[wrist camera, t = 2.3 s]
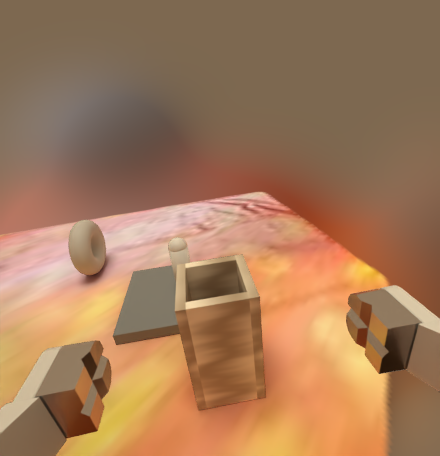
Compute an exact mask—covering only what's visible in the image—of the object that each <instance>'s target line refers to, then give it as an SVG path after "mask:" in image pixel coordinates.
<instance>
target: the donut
mask: <svg viewBox="0 0 440 456" xmlns="http://www.w3.org/2000/svg"><path fill="white" fill-rule="evenodd" d="M69 253H70V257H71V260H72V262H73V264H74V266H75V268H76V269H77V270H78V271H79V272H80V273H82V274H85V275H93V274H96V273H98V272H99V271H100V270H101V269H102V267H103V265H104V262H105V257H106V246H105V240H104V236H103V234H102V231H101V230H100V228H99V226H98V225H97V224H95V223H94V222H93V221H90V220H82V221H79V222H77V223H76V224H75V225H74V226H73V228H72V229H71V231H70V235H69Z"/></svg>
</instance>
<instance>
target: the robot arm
mask: <svg viewBox="0 0 440 456" xmlns="http://www.w3.org/2000/svg"><path fill="white" fill-rule="evenodd" d="M348 305H349V306H350V307H351V309H350V311H349V312H348V313H347V317H346V323H347V327H348V331H349V333H350V335H351V337H352V338H353V340H354V341H355V342H356V343H357V344H358V345H360V346H362V347H364V348H365V356H366V357H367V359H368V360H369V361H370V363H371V364H372V365H373V367H374V368H375V369H376V371H377V372H378V373H379V374H381V373H387V372H392V371H399V370H405V369H407V371H408V372H409V373H411V374H412V375H414V376H415V377H417V378H418V379H420V380H421V381H423V382H424V383H426V384H428V385H429V386H431V387H432V388H434V389H435V390H437V391H438V392H440V319H439V318H438V317H437V316H435V315H434V314H433V313H432V312H430V311H429V310H428V309H427V308H425V307H424V306H423V305H422V304H420V303H419V302H418V301H417V300H415V299H414V298H413V297H412V296H410V295H409V294H408V293H407V292H406V291H404V290H403V289H402V288H401V287H398V286H395V285H394V286H389V287H384V288H380V289H374V290H369V291H364V292H359V293H353V294H350V296H349V298H348ZM102 352H103V347H102V344H101V342H100V341H90V342H84V343H77V344H71V345H65V346H61V347H54V348H48V349H46V350H45V351H44V352H42V354H41V356H40V357H39V359H38V361H37V362H36V364H35V366H34V367H33V369H32V371H31V372H30V374H29V376H28V377H27V379H26V381H25V382H24V384H23V386H22V387H21V389H20V391H19V392H18V394H17V396H16V397H15V399H14V401H13V402H11V403H7V404H5V405H4V406H3V407H2V408H1V409H0V456H55V455H56V454H57V453H58V451H59V450H60V449H61V447H62V446H63V444H64V443H65V442H66V438H70V437H74V436H79V435H83V434H87V433H91V432H96V431H98V428H99V424H100V420H101V417H102V413H103V410H104V405H103V403H102V398H103V397H104V396H105V395H106V394H107V393H108V391H109V388H110V384H111V366H110V363H109V360H108V359H107V358H106V357H104V356H102Z"/></svg>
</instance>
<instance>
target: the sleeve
mask: <svg viewBox="0 0 440 456" xmlns="http://www.w3.org/2000/svg"><path fill="white" fill-rule="evenodd" d="M175 314H176V319H177V323H178V327H179V331H180V335H181V340H182V344H183V348H184V352H185V356H186V361H187V365H188V369H189V373H190V377H191V381H192V386H193V390H194V394H195V398H196V402H197V407H198V410H203V409H208V408H213V407H218V406H224V405H229V404H234V403H239V402H244V401H249V400H254V399H259V398H264V397H266V394H265V378H264V361H263V344H262V327H261V310H260V296H259V294H258V291H257V289H256V286H255V284H254V281H253V279H252V276H251V274H250V271H249V269H248V266H247V264H246V261H245V259H244V256H243V254H241V255H235V256H229V257H223V258H216V259H210V260H204V261H198V262H192V263H185V264H179V265H177V276H176V296H175Z"/></svg>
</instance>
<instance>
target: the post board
mask: <svg viewBox="0 0 440 456" xmlns="http://www.w3.org/2000/svg"><path fill="white" fill-rule="evenodd" d="M168 250H169V254H170V259H171V263H172V265H171V266H165V267H159V268H153V269H147V270H140V271H134V272H133V274H132V278H131V281H130V284H129V287H128V290H127V293H126V296H125V300H124V303H123V306H122V309H121V312H120V315H119V318H118V322H117V325H116V328H115V331H114V334H113V337H114V340H115V343H116V345H117V344H123V343H129V342H134V341H140V340H146V339H151V338H157V337H162V336H168V335H174V334H179V333H180V331H179V327H178V323H177V319H176V314H175V296H176V276H177V265H179V264H185V263H192V262H190V257H189V252H188V247H187V243H186V241H185V240H184V239H182V238H174V239H172V240H171V241H170V242H169V245H168ZM234 256H235V255H234ZM227 257H229V256H227ZM221 258H223V257H221ZM215 259H216V258H215ZM209 260H210V259H209ZM203 261H204V260H203ZM196 262H198V261H196Z"/></svg>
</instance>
